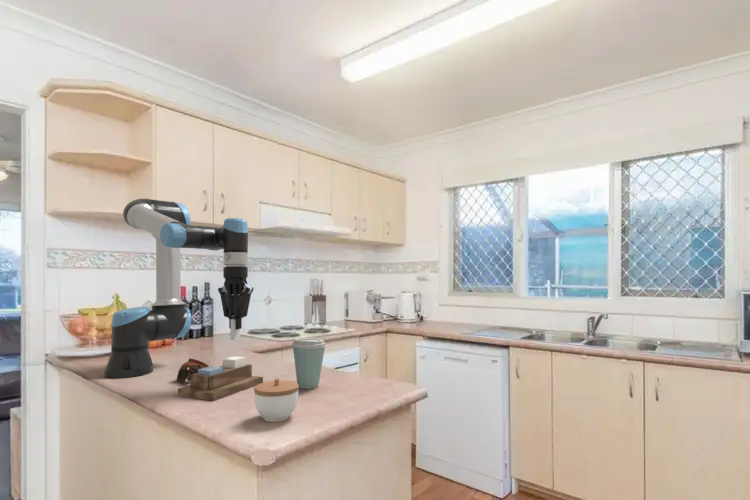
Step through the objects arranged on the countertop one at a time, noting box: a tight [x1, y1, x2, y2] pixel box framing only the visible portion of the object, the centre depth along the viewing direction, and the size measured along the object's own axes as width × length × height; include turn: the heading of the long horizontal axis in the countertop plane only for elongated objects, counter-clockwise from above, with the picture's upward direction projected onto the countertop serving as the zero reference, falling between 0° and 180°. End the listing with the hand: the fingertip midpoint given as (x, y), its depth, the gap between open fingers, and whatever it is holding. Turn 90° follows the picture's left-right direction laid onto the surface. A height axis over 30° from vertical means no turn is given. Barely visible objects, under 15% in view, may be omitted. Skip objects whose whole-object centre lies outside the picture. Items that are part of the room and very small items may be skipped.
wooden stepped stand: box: [177, 363, 264, 402], centre depth 130 cm, size 14×21×6 cm, turn 156°
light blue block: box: [198, 365, 223, 376], centre depth 126 cm, size 5×5×4 cm
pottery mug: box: [175, 358, 210, 384], centre depth 141 cm, size 12×10×8 cm
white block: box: [222, 355, 247, 369], centre depth 135 cm, size 5×5×4 cm
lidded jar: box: [253, 378, 299, 423], centre depth 104 cm, size 11×11×9 cm
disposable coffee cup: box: [291, 337, 326, 390], centre depth 133 cm, size 11×11×15 cm
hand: (235, 339), depth 135 cm, fingers closed
